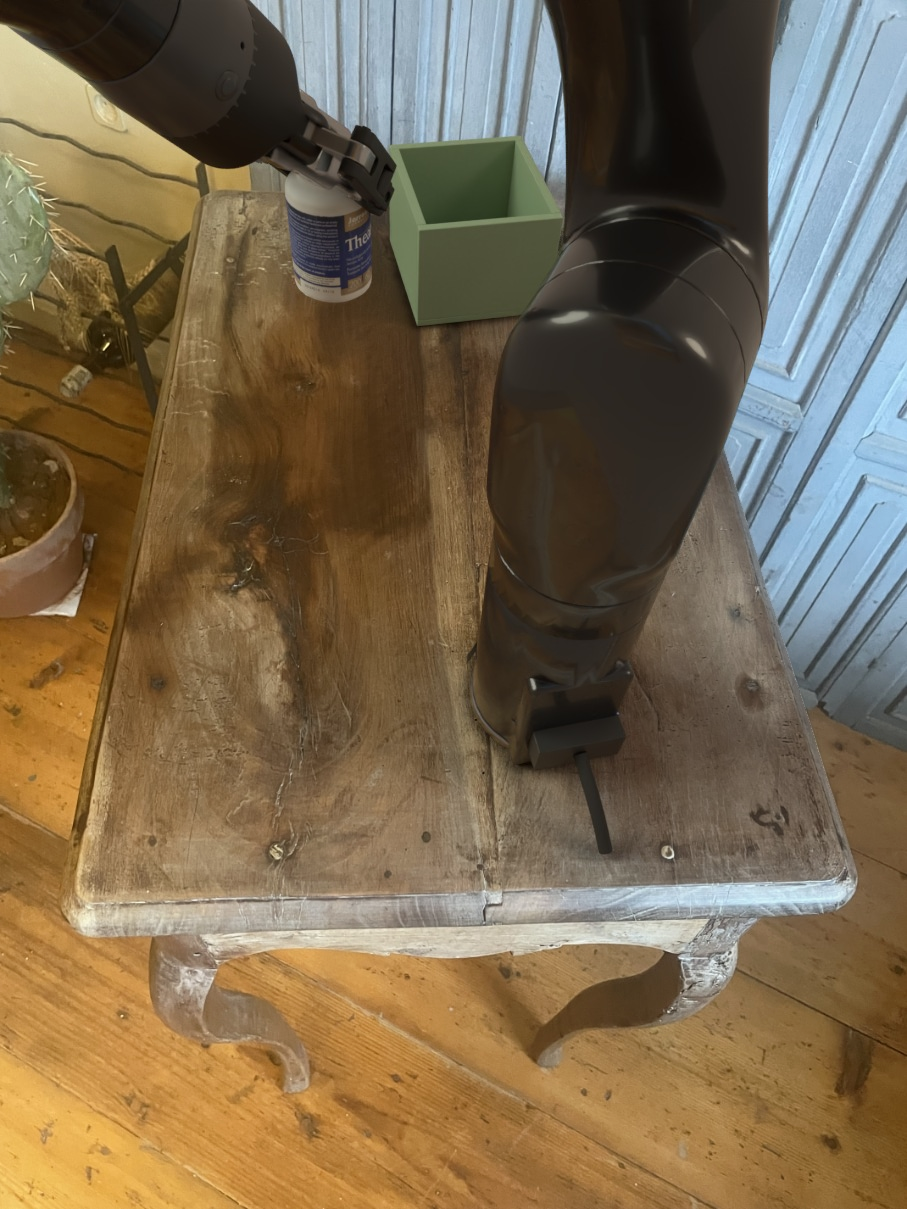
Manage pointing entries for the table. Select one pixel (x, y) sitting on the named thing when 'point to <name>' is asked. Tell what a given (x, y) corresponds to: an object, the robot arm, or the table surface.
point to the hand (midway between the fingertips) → (344, 184)
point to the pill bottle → (328, 241)
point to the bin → (471, 227)
